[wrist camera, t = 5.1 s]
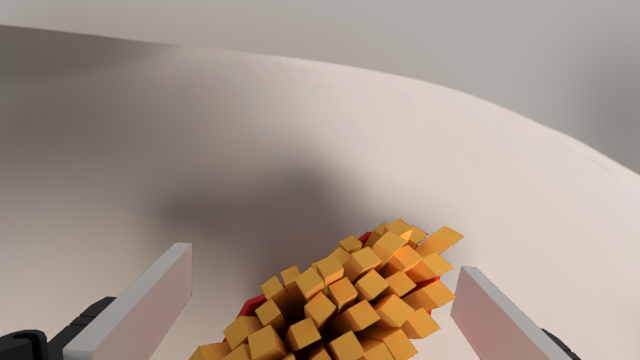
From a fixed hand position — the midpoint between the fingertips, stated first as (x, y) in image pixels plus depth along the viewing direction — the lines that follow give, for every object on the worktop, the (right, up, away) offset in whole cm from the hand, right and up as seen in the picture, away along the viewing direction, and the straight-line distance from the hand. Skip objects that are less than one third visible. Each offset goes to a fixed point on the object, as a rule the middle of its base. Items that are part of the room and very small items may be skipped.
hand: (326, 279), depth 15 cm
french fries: (-1, -5, +3) cm, 6 cm away
